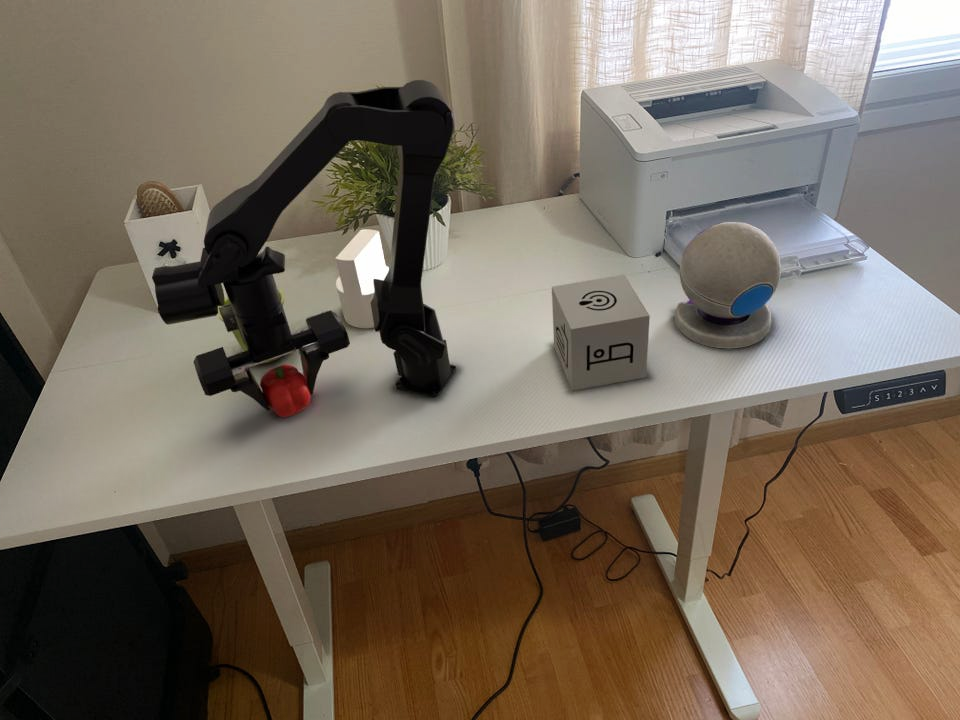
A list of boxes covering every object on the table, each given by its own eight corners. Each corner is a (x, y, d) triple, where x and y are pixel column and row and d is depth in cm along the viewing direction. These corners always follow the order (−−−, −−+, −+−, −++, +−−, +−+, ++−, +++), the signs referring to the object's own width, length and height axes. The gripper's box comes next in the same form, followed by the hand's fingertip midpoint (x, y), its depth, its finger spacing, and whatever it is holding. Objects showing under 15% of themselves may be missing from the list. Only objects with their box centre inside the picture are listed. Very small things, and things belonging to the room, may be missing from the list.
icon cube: (572, 390, 96) (571, 329, 90) (554, 345, 104) (551, 286, 98) (645, 377, 97) (649, 315, 91) (622, 333, 105) (624, 274, 99)
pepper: (318, 391, 101) (306, 353, 97) (306, 421, 96) (294, 382, 92) (276, 392, 102) (263, 354, 98) (263, 422, 97) (248, 383, 93)
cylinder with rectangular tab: (386, 331, 111) (372, 263, 103) (334, 324, 113) (316, 257, 106) (409, 298, 117) (397, 231, 110) (359, 292, 120) (344, 227, 113)
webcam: (736, 288, 111) (750, 197, 102) (790, 334, 101) (810, 238, 92) (659, 309, 109) (666, 218, 99) (706, 359, 99) (718, 263, 90)
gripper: (312, 253, 97) (337, 346, 107) (169, 298, 92) (209, 392, 102) (337, 292, 89) (362, 388, 99) (182, 343, 84) (224, 440, 94)
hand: (289, 400), depth 99 cm, fingers closed on pepper, 5 cm apart
